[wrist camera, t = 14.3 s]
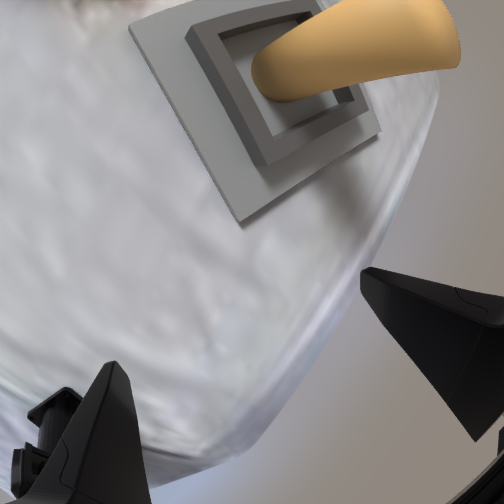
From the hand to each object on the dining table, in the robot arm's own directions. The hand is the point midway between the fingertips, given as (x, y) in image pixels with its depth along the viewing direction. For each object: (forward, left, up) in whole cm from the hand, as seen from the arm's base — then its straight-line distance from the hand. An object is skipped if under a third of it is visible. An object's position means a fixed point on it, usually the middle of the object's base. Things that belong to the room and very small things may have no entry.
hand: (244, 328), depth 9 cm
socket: (+12, +7, -12) cm, 18 cm away
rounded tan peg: (+12, +7, -11) cm, 18 cm away
